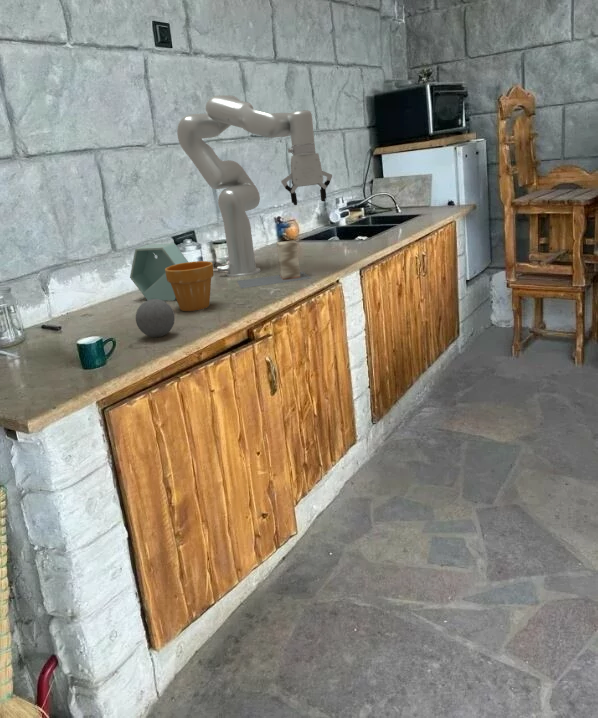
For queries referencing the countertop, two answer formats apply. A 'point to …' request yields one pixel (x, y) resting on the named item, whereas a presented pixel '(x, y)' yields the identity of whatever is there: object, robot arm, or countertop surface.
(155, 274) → the planter
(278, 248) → the birch block
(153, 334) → the decorative ball
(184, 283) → the flower pot
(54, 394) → the countertop surface
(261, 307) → the countertop surface
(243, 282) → the slate mat
